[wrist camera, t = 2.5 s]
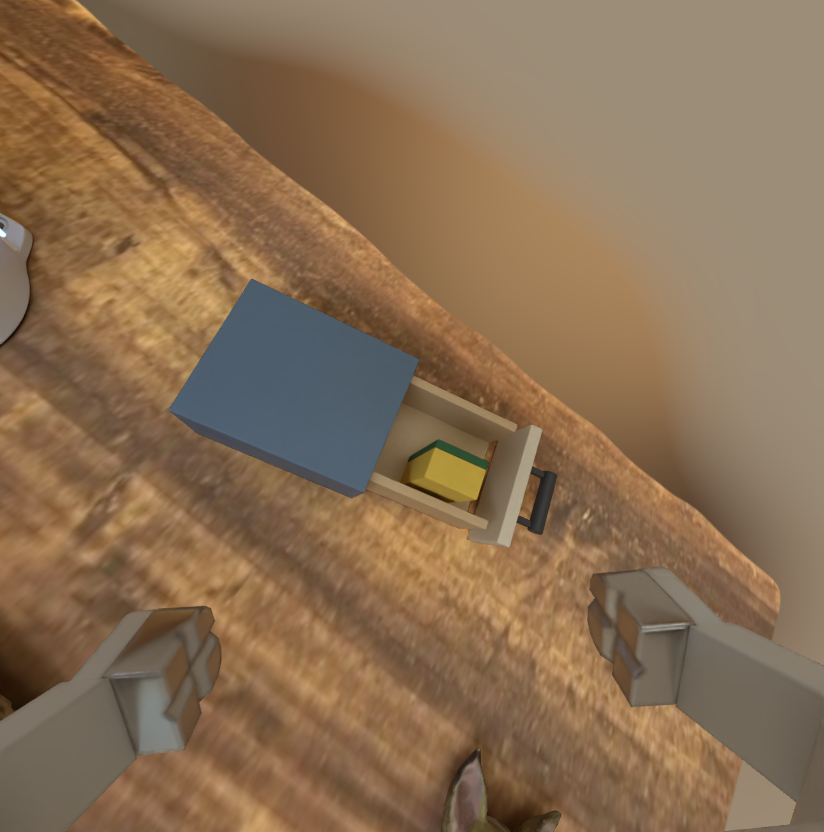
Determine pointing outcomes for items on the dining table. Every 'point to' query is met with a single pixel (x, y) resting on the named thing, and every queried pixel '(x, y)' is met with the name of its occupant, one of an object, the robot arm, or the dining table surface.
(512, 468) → the drawer
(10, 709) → the sponge
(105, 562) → the dining table surface
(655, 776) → the dining table surface
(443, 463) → the scrub sponge
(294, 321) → the cabinet
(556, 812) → the ceramic sculpture
